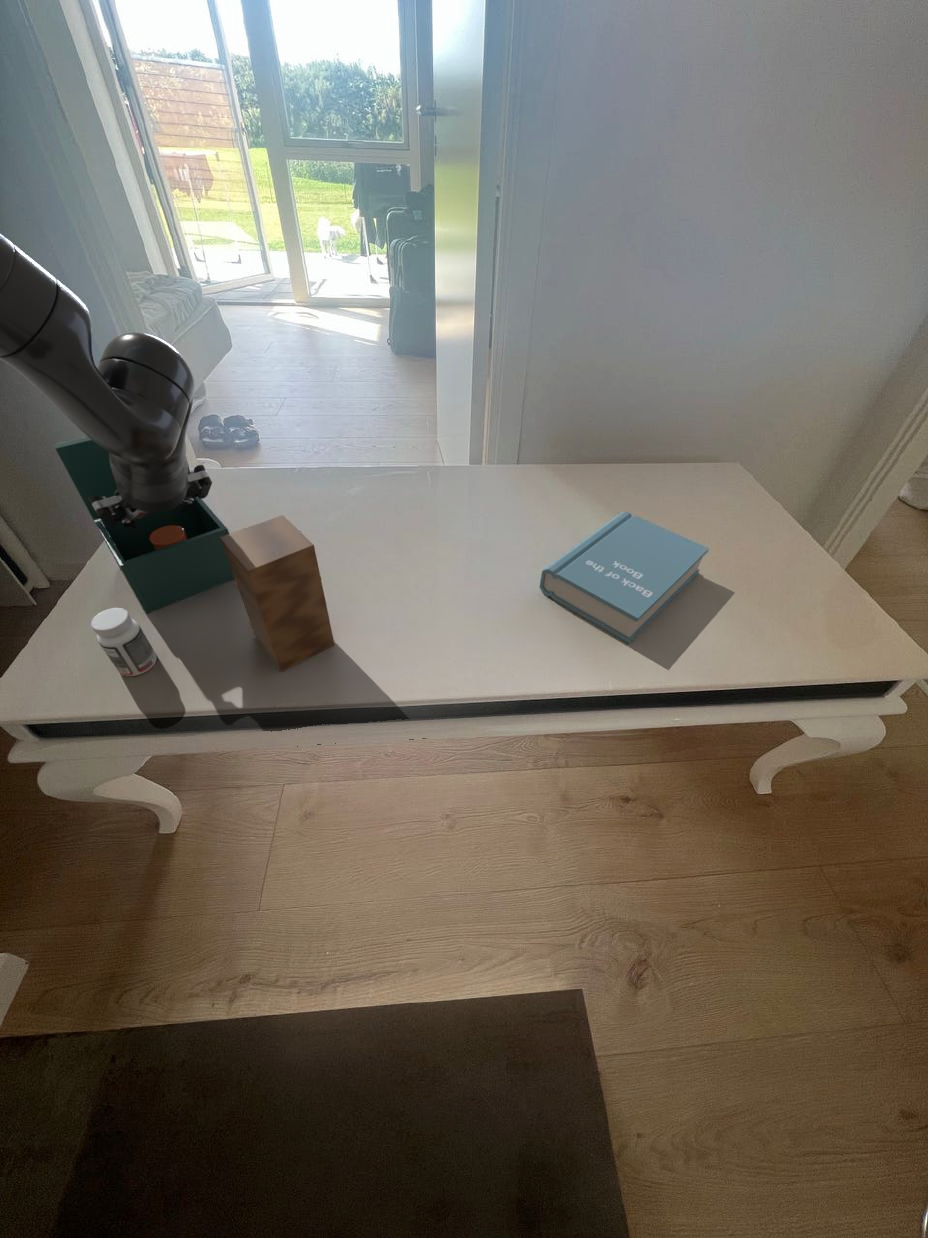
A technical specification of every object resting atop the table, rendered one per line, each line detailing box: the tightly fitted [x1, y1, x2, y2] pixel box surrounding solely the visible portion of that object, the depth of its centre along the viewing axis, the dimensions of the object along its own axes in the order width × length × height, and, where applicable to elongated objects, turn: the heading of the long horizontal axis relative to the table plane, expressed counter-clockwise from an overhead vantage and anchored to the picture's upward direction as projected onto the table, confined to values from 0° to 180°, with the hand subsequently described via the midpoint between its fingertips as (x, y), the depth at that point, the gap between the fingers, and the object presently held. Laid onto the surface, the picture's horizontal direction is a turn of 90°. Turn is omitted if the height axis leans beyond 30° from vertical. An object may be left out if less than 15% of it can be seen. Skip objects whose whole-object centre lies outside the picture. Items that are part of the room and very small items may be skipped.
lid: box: [52, 435, 192, 521], centre depth 74 cm, size 14×15×5 cm
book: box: [539, 510, 710, 644], centre depth 82 cm, size 23×16×5 cm
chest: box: [93, 497, 235, 615], centre depth 80 cm, size 14×15×9 cm
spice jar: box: [150, 525, 188, 551], centre depth 78 cm, size 5×5×8 cm
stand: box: [220, 514, 335, 673], centre depth 67 cm, size 8×8×17 cm
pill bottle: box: [90, 607, 158, 677], centre depth 66 cm, size 5×5×8 cm
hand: (156, 513), depth 74 cm, fingers open, 6 cm apart
